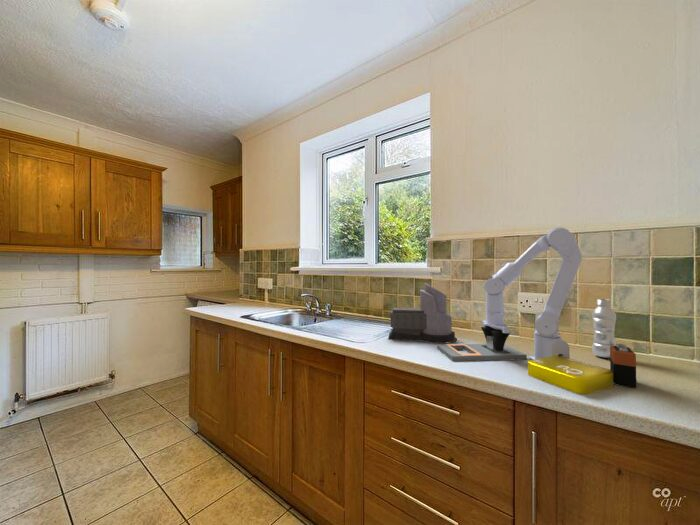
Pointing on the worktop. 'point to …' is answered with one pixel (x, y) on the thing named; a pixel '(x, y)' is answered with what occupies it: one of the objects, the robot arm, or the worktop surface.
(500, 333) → the robot arm
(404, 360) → the worktop surface
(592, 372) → the element tile
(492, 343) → the block
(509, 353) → the rail plate
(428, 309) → the juicer
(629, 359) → the battery
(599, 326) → the plastic bottle
